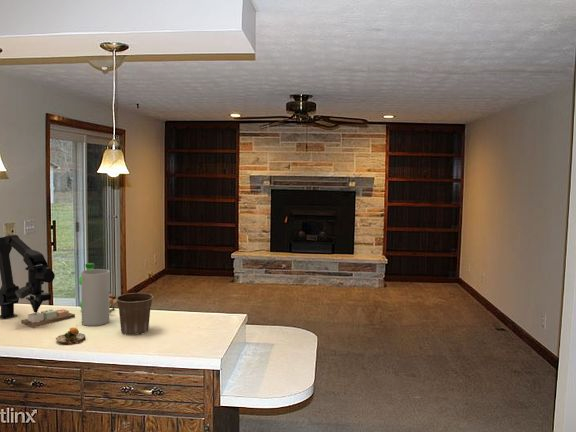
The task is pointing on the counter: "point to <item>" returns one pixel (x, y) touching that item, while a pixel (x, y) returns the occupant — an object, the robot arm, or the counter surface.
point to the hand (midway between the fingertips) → (35, 312)
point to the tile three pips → (62, 312)
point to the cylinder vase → (95, 297)
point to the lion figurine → (111, 303)
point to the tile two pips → (49, 314)
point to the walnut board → (47, 320)
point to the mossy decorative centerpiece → (71, 337)
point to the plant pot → (134, 312)
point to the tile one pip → (35, 317)
